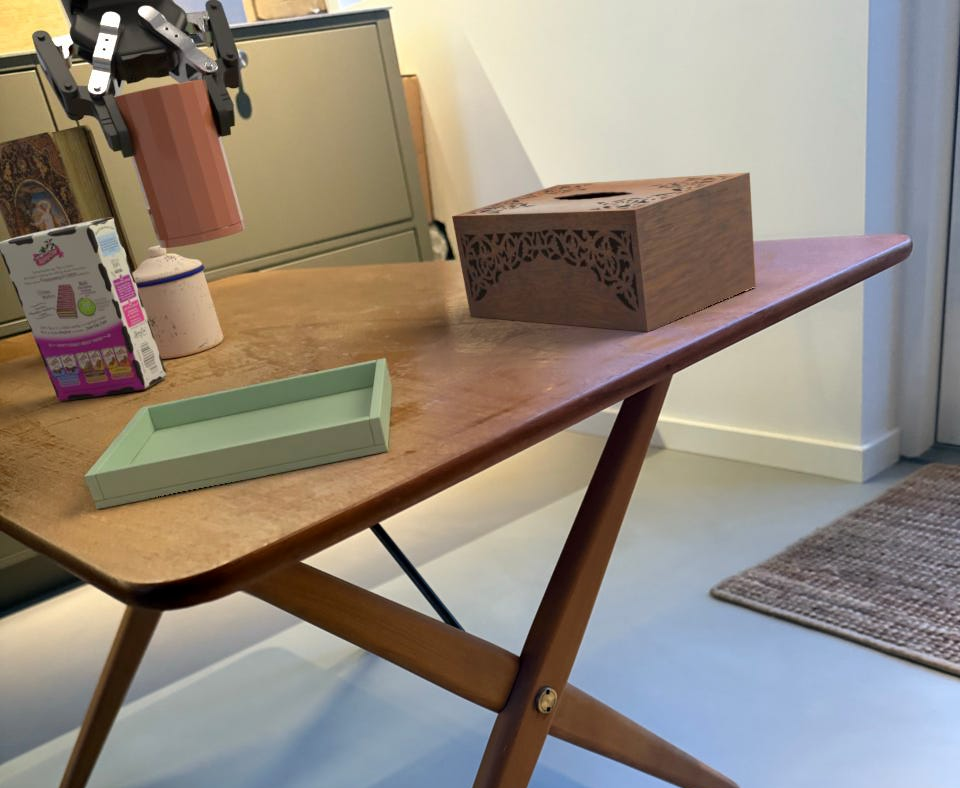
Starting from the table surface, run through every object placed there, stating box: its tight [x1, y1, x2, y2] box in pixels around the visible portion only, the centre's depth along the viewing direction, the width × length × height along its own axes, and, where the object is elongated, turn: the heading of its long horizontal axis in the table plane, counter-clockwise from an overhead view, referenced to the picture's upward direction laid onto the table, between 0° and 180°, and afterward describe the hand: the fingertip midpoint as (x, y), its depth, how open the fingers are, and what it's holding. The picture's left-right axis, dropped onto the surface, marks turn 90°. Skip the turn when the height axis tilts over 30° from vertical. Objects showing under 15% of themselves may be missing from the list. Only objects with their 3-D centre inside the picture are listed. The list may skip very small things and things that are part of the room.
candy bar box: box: [0, 217, 168, 402], centre depth 106 cm, size 11×5×16 cm, turn 76°
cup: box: [114, 79, 246, 249], centre depth 74 cm, size 6×6×10 cm
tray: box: [83, 357, 393, 510], centre depth 81 cm, size 22×18×3 cm
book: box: [0, 124, 139, 273], centre depth 126 cm, size 16×6×25 cm, turn 56°
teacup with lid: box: [132, 244, 224, 360], centre depth 119 cm, size 12×9×12 cm
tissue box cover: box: [451, 172, 757, 333], centre depth 100 cm, size 26×14×10 cm, turn 38°
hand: (176, 136), depth 72 cm, fingers closed on cup, 6 cm apart
